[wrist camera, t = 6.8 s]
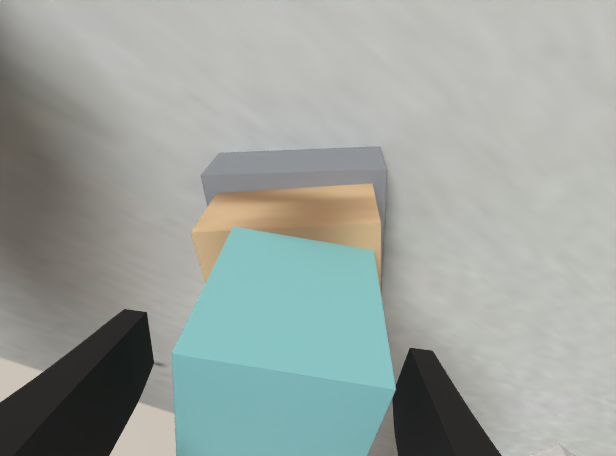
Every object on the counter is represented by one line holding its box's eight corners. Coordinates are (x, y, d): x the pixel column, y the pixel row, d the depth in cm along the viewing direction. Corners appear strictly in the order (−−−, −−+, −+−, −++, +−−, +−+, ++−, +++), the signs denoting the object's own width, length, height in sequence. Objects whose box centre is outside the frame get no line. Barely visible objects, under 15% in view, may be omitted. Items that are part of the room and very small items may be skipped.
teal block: (226, 328, 14) (177, 470, 10) (233, 226, 12) (171, 353, 7) (344, 347, 14) (348, 497, 10) (374, 250, 12) (396, 389, 7)
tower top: (244, 309, 17) (228, 361, 15) (216, 193, 14) (190, 232, 12) (373, 305, 17) (380, 359, 14) (372, 183, 14) (381, 223, 11)
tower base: (244, 274, 20) (231, 312, 18) (221, 150, 17) (200, 175, 14) (374, 273, 20) (380, 313, 17) (379, 143, 16) (387, 168, 13)
